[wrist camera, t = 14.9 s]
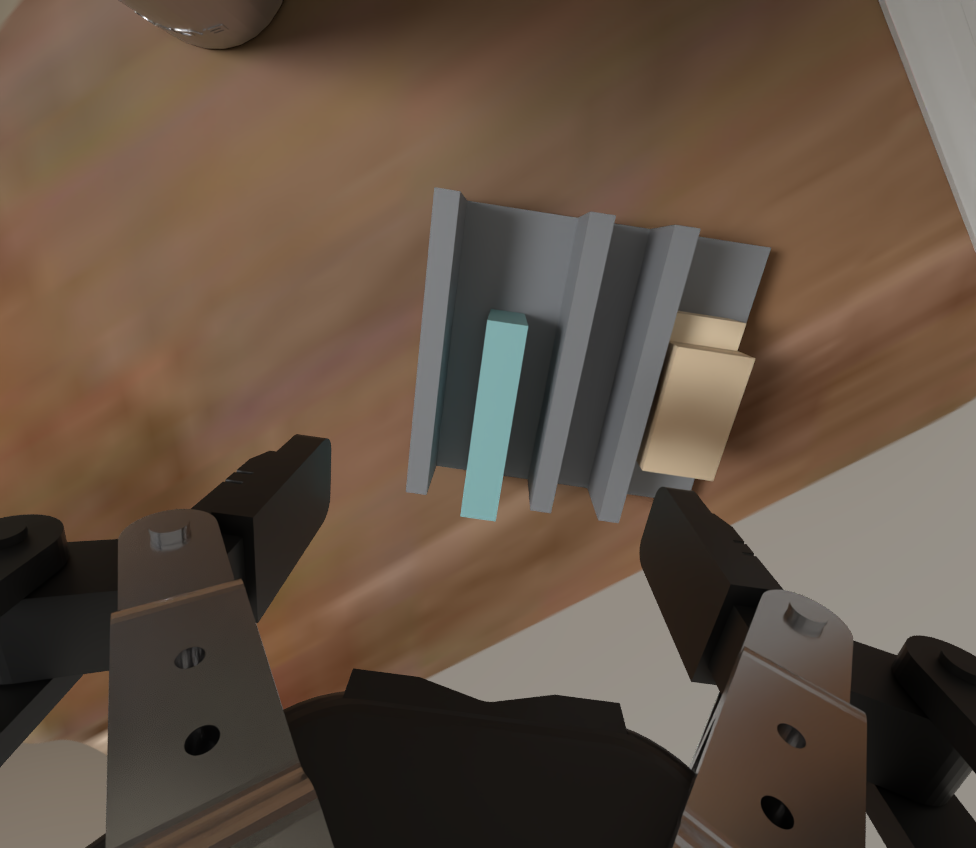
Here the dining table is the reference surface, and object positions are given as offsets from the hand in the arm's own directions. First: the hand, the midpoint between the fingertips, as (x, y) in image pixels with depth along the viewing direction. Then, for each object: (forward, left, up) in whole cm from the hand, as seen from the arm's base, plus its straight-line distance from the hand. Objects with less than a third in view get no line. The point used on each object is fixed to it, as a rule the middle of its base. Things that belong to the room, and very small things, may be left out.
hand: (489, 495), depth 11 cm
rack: (0, +5, -19) cm, 20 cm away
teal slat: (-2, 0, -15) cm, 15 cm away
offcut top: (+1, +11, -16) cm, 19 cm away
